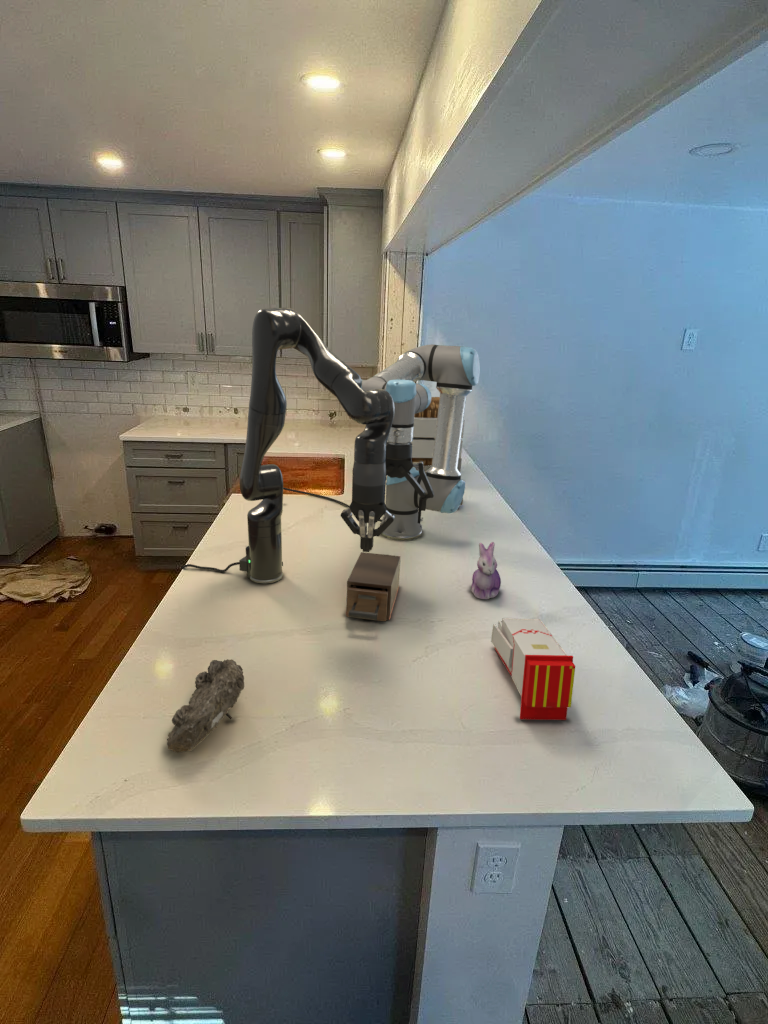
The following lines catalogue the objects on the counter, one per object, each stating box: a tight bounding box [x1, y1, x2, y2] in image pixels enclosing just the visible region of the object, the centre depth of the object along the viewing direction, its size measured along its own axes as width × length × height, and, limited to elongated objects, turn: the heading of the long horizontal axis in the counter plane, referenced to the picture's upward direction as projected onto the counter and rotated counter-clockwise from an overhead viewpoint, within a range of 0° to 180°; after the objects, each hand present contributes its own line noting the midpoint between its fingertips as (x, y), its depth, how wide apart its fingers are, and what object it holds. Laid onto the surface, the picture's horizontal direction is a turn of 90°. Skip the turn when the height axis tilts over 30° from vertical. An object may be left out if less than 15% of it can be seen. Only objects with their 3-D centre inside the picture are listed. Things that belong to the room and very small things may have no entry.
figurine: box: [470, 541, 502, 600], centre depth 158 cm, size 9×10×15 cm
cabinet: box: [345, 551, 401, 621], centre depth 152 cm, size 18×11×10 cm, turn 171°
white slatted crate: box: [410, 396, 465, 474], centre depth 268 cm, size 34×33×41 cm
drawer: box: [346, 585, 388, 622], centre depth 147 cm, size 23×10×8 cm, turn 171°
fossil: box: [166, 658, 245, 754], centre depth 106 cm, size 22×10×15 cm
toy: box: [490, 617, 576, 721], centre depth 122 cm, size 12×13×30 cm
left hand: (366, 550), depth 133 cm, fingers closed
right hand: (393, 519), depth 152 cm, fingers open, 13 cm apart
